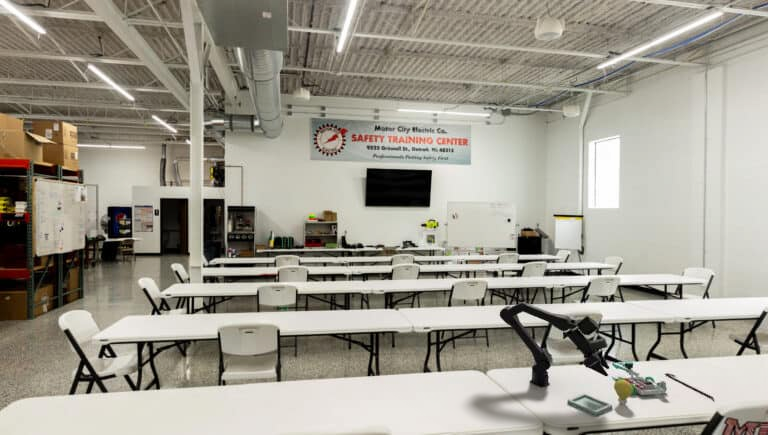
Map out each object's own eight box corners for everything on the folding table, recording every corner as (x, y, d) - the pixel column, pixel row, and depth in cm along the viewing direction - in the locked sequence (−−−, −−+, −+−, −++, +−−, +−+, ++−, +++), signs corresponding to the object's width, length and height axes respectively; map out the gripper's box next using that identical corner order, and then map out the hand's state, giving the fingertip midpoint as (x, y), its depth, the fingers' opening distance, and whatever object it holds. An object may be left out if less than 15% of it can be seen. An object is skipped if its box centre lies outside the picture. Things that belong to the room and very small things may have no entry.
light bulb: (626, 400, 173) (628, 377, 173) (635, 408, 166) (636, 384, 166) (610, 399, 174) (611, 376, 173) (617, 407, 167) (618, 383, 167)
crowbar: (661, 373, 202) (670, 372, 203) (661, 375, 202) (670, 374, 203) (713, 399, 175) (724, 399, 175) (713, 402, 175) (724, 401, 175)
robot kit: (629, 373, 203) (630, 355, 203) (673, 397, 179) (674, 376, 178) (596, 375, 200) (597, 356, 199) (636, 399, 175) (637, 378, 175)
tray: (567, 403, 169) (567, 399, 169) (584, 396, 176) (584, 393, 176) (595, 416, 159) (595, 412, 159) (612, 408, 166) (612, 405, 166)
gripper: (593, 336, 167) (623, 369, 162) (597, 325, 183) (624, 355, 177) (571, 351, 172) (600, 383, 166) (577, 339, 187) (603, 368, 182)
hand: (608, 372), depth 173 cm, fingers open, 9 cm apart
